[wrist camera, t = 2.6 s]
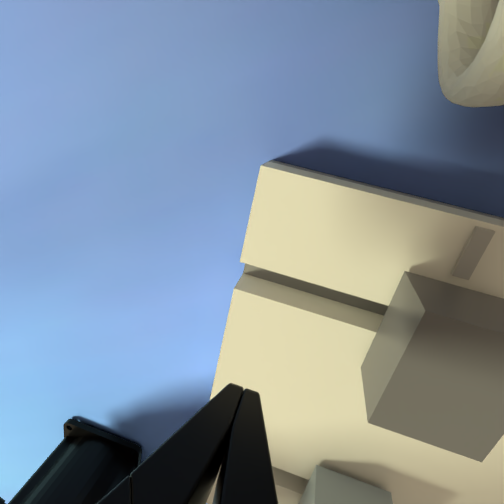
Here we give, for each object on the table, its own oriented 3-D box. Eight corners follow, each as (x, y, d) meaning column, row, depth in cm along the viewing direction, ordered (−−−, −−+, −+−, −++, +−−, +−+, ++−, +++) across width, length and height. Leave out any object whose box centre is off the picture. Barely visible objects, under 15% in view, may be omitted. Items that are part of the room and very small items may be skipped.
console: (202, 460, 23) (187, 498, 21) (271, 159, 15) (259, 165, 12) (517, 582, 21) (543, 643, 18) (833, 300, 12) (963, 344, 9)
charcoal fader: (357, 344, 16) (367, 422, 12) (396, 255, 14) (425, 310, 10) (439, 370, 15) (481, 462, 11) (492, 281, 13) (567, 352, 9)
